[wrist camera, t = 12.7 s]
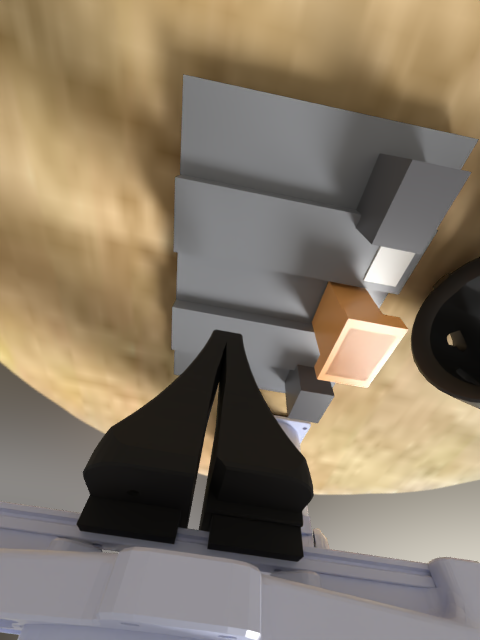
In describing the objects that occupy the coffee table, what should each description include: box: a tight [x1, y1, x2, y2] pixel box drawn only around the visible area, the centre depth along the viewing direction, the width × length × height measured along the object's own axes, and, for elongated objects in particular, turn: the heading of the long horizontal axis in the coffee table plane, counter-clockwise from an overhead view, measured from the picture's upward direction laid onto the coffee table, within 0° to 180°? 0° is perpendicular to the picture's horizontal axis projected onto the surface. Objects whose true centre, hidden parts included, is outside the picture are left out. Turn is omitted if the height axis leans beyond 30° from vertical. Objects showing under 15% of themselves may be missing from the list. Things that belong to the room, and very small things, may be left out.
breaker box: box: [171, 74, 479, 423], centre depth 17 cm, size 20×14×6 cm
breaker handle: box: [312, 281, 408, 388], centre depth 16 cm, size 4×3×5 cm
